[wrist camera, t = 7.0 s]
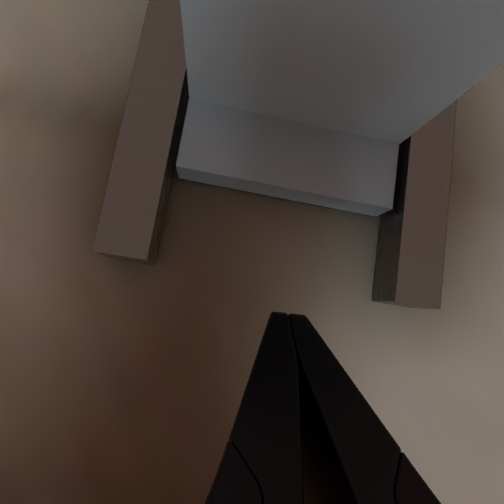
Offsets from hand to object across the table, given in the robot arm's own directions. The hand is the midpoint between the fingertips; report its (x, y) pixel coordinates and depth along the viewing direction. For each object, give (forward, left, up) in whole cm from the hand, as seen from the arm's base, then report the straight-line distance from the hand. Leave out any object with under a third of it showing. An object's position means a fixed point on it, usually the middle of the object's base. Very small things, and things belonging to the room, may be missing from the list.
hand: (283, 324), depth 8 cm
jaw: (+8, -1, -7) cm, 11 cm away
